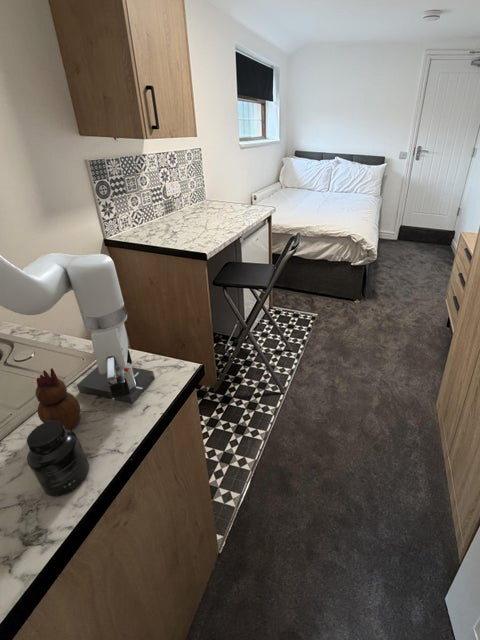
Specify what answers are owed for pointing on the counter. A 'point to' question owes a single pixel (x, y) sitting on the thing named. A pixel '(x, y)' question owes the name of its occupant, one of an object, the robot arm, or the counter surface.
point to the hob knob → (128, 375)
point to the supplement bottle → (56, 458)
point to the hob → (100, 387)
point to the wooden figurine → (56, 401)
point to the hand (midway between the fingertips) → (123, 379)
